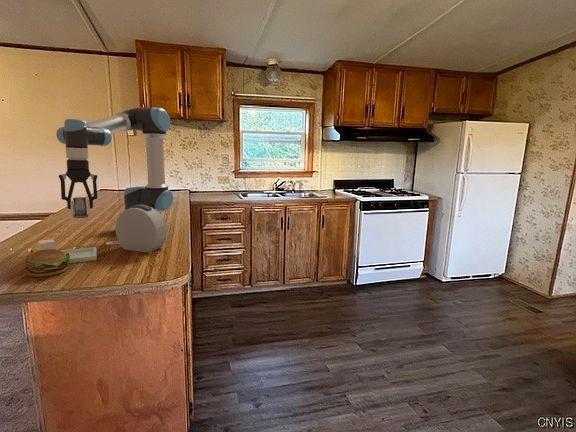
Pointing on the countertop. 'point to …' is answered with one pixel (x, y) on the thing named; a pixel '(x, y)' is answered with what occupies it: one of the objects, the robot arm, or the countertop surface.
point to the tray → (81, 254)
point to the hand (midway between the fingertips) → (81, 216)
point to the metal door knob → (80, 207)
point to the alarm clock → (141, 229)
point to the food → (47, 263)
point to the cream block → (47, 244)
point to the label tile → (113, 243)
